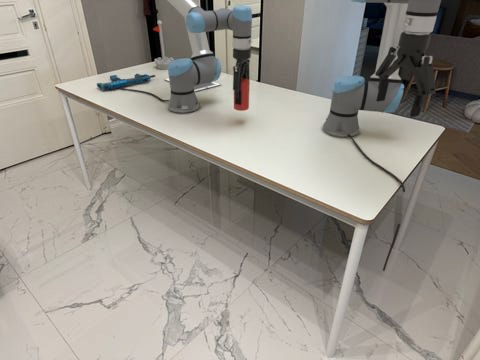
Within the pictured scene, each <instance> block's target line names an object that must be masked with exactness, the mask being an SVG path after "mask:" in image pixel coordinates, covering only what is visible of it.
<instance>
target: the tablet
mask: <svg viewBox="0 0 480 360" xmlns="http://www.w3.org/2000/svg"><path fill="white" fill-rule="evenodd" d="M164 81H165V82H166V81H167V82H168V83H170V81H169V77H167V78H164ZM219 86H222V84H221V83H218V82H216V81H214V82H211V83H205V84H200V85H195V86H194V92H195V93H197V92H199V91H204V90H207V89H211V88H215V87H219Z"/></svg>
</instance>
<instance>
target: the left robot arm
mask: <svg viewBox="0 0 480 360" xmlns="http://www.w3.org/2000/svg"><path fill="white" fill-rule="evenodd" d="M167 2H168V3H169V4H170V5H171V6H172V7H173V8H174V9H175V10H176V11H177V12H178V13H179V14H180V15H181V16H182V17H183V18H184V22H185V27H186V30H187V36H188V39H189V45H190V48H191V53H192V54H191V56H190V58H188V57H184V58H177V59H174V61H172V62H171V63H170V64H169V65H168V69H167V70H168V71H167V74H168V78H169V81H170V82H169V81H168V82H169V88H170V96H169V97H170V98H169V99H162V98H161V97H159V96H158V95H155V94H154V93H151V92H149V91H144V90H139V89H132V88H125V87H117V88H116V89H115V90H123V91H129V92H130V91H131V92H138V93H144V94H147V95H150V96H152V97H155V98H156V99H158V100H160V102H168V110H169V111H170V112H172V113H175V114H188V113H193V112H196V111H198V110H199V108H200V103H199V100H198V98H197V95H196V92H194V86H195V85H200V84H205V83H211V82H216V81H218V80H219V79H220V77H221V74H222V64H221V61H220V60H219V57H217V56H215V55H214V52H213V51H211V50H210V46H209V41H208V37H207V32H215V31H217V32H218V31H223V30H228V31H232V48H233V49H232V58H233V59H234V60H235V61H236V63H235V65H234V66H233V67H232V71H233V74H232V75H233V76H232V90H233V91H234V90H235V104H238V105H241V95H242V90H241V83H242V78H246V79H249V85H250V84H251V82H250V81H251V80H250V78H251V77H250V64H251V63H250V62H251V57H252V49H251V47H252V43H253V40H252V28H253V27H252V23H253V13H252V11H253V10H252V7H250V6H248V5H235V6H233V7H232V9H230V8H228V7H220V8H218V9H215V10H205V9H203V8H202V7H201V5H200V1H199V0H167Z"/></svg>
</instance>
